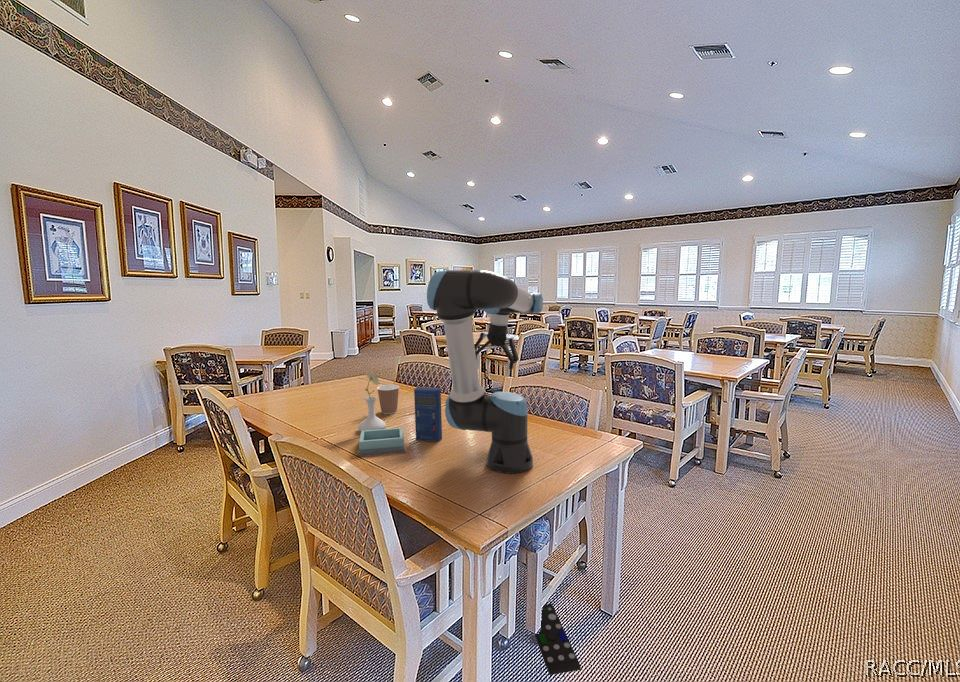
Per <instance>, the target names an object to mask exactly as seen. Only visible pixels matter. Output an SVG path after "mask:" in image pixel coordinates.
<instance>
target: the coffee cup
mask: <svg viewBox="0 0 960 682" xmlns="http://www.w3.org/2000/svg"><path fill="white" fill-rule="evenodd" d="M399 388H400V385H398V384H383V385H378V386H377V387H376V389H377V394H378V399H379V407H380V411H381V413H382V414H383V415H392V414H396V413H397V412H398V411H397V410H398V404H399V403H398V402H399V401H398V400H399V390H400V389H399Z"/></svg>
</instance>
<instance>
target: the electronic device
mask: <svg viewBox="0 0 960 682" xmlns="http://www.w3.org/2000/svg"><path fill="white" fill-rule="evenodd" d="M413 391H414V392H413V393H414V394H413V396H414V399H413V400H414V421H415V422H414V423H415V440H416V441H427V442H440V441H441V440H442V439H443V425H442V424H443V423H442V392H441V391H442V390H441V387H426V386H424V387H423V386H422V387H421V386H420V387H419V386H417V387H415V388H414V389H413Z"/></svg>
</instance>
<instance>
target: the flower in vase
mask: <svg viewBox="0 0 960 682" xmlns="http://www.w3.org/2000/svg"><path fill="white" fill-rule="evenodd" d="M364 372H365V375H366V377H367V378H368V379H369V380H368V384H367V387H366V388H364V389H365V390H364V391H366V392H367V394H368V396H366V397H364V398H363V399H364V400H365V402H366V404H367V407H368V409H367V410H368V414H367V417H366V418H364V419H363V420H362V421H361V422H360V423H359V424H358V426H357V430H358V431H359V432H361V431H364V430H377V429H386V427H387V424H386V422H385V421H384V420H382V419H381V418H379V417H378V416H377V415H376V413H375V404H376V403H375V402H376V400H377V399H378V397H377V396H373V395H372V396H371V395H370V394H372V393H374V392H375V390H374V389H373V390H372V391H371V392H369V385H370V383H372V384H374V385H377V386H379V385H380V380H379V378H378V377H377V374H375V373H374V372H373V371H372V370H370V369H367V370H365V371H364Z"/></svg>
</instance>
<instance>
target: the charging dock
mask: <svg viewBox="0 0 960 682" xmlns="http://www.w3.org/2000/svg"><path fill="white" fill-rule="evenodd" d="M403 429H404V428H403V427H392V428H391V427H389V428H385V429H377V430H364V431H360V436H359V440H358V444H359V445H358V446H359V447H358V453H357V454H358V457H359V458H361V457H370V456H380V455H382V456H383V455H393V454H402V453H403V454H404V453H405V452H406V447H405V436H404V430H403Z"/></svg>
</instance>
